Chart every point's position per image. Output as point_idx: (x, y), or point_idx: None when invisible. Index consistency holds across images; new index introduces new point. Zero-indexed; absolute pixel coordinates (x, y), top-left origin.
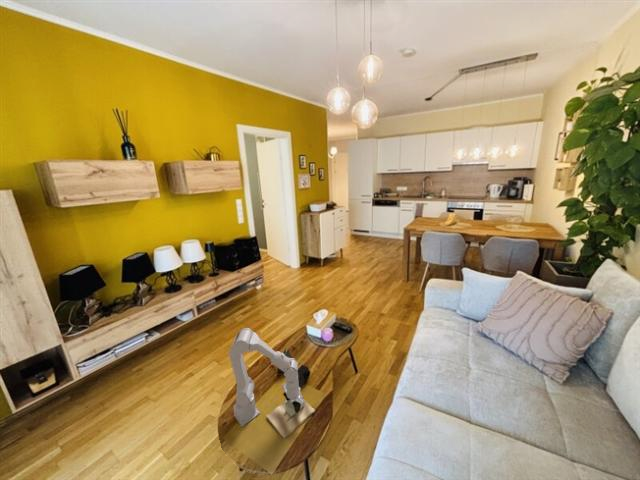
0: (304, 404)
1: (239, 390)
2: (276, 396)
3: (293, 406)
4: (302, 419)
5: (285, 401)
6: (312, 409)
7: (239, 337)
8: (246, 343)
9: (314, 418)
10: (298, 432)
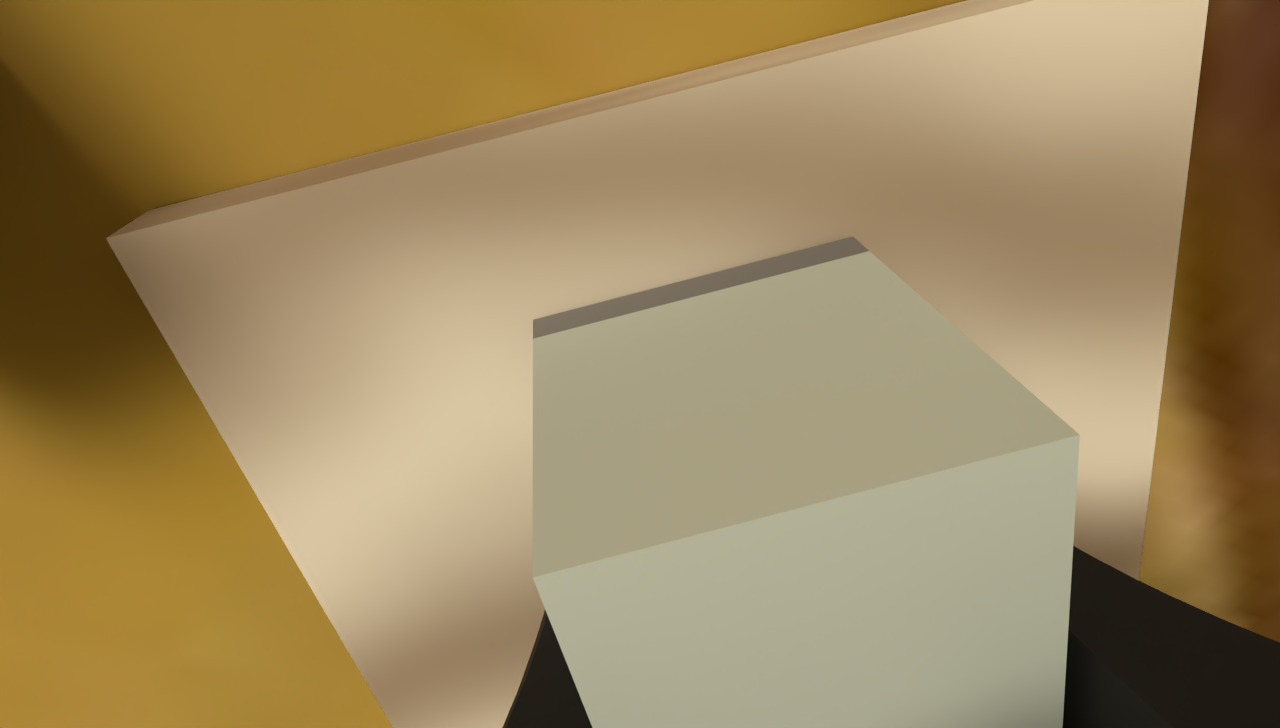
0: (773, 191)
1: None
2: (28, 704)
3: None
4: (1129, 439)
5: (350, 634)
6: (1134, 26)
7: None
8: None
9: (1276, 89)
10: (1193, 552)
